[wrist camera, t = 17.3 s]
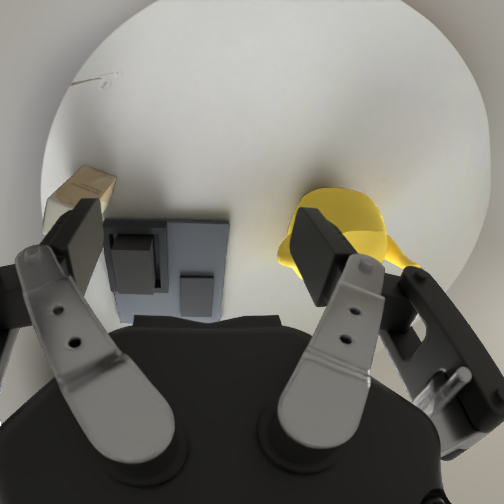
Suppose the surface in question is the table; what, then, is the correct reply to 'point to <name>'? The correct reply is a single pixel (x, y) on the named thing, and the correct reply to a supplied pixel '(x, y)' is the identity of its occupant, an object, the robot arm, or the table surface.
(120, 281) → the black block
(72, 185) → the box
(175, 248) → the base pad
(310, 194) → the teapot
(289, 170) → the table surface
